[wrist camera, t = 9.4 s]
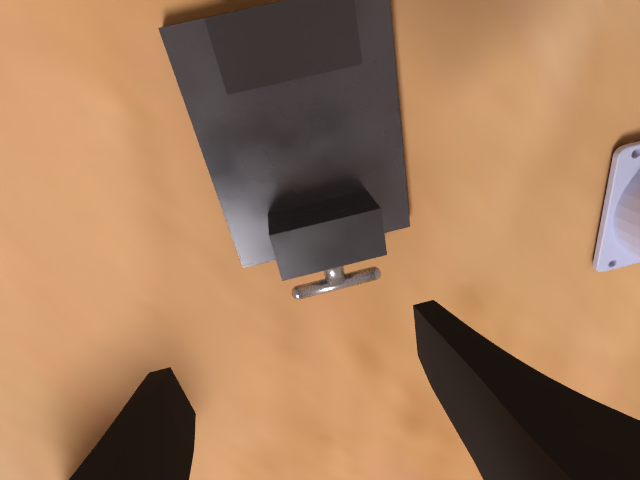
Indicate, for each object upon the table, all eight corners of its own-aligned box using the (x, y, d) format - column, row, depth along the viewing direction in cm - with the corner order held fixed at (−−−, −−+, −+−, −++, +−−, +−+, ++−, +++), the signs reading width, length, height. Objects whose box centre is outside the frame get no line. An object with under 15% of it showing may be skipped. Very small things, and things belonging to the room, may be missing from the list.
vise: (383, -20, 15) (409, -35, 12) (408, 250, 21) (430, 279, 18) (161, 29, 15) (141, 24, 12) (253, 289, 21) (252, 325, 18)
